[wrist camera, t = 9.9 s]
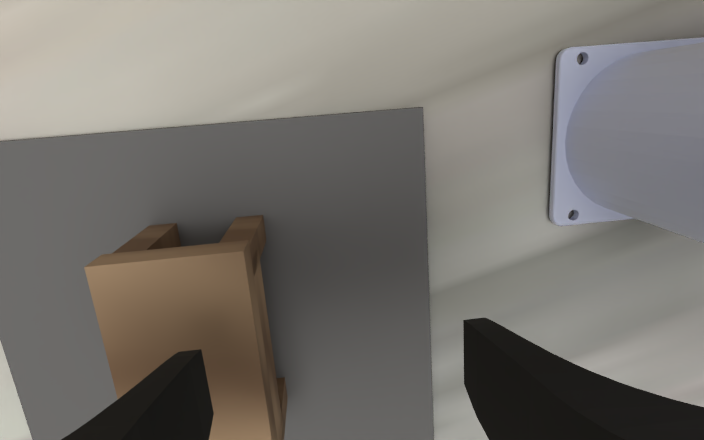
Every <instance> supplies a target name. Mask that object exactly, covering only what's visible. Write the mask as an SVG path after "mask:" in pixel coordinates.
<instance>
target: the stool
mask: <svg viewBox="0 0 704 440" xmlns="http://www.w3.org/2000/svg"><path fill="white" fill-rule="evenodd" d="M265 243H266V233H265V225H264V218H263V215H256V216H245V217H236V218H235V220H234V221H233V223H232V224H231V226H230V227H229V229H228V230H227V232H226V233H225V235H224V236H223V238H222V239H221V241H220V242H219V243H214V244H204V245H194V246H183V247H181V243H180V238H179V232H178V227H177V223H171V224H160V225H150V226H148V227H146V228H145V229H144V230H142V231H141V232H140V233H138V234H137V235H136V236H134V237H133V238H132V239H130V240H129V241H128V242H126V243H125V244H124V245H122V246H121V247H120V248H118V249H117V250H116V251H114V252H113V253H112V254H102V255H100V256H99V257H98V258H96V259H95V260H93V261H92V262H91V263H89V264H88V265H86V266H85V267H84V269H85V272H86V276H87V280H88V284H89V288H90V292H91V296H92V300H93V304H94V308H95V312H96V316H97V320H98V324H99V328H100V332H101V336H102V339H103V343H104V347H105V351H106V355H107V359H108V363H109V367H110V371H111V375H112V379H113V383H114V387H115V391H116V395H117V399H119V398H120V397H122V396H123V395H124V394H126V393H127V392H128V391H129V390H130V389H132V388H133V387H134V386H135V385H137V384H138V383H139V382H140V381H142V380H143V379H144V378H145V377H147V376H148V375H149V374H150V373H151V372H153V371H154V370H155V369H156V368H158V367H159V366H160V365H161V364H163V363H164V362H165V361H166V360H168V359H169V358H170V357H172V356H173V355H174V354H176V353H177V352H181V351H190V350H199V349H201V350H202V355H203V360H204V365H205V371H206V376H207V381H208V386H209V391H210V396H211V402H212V407H213V412H214V415H213V421H212V426H211V431H210V436H209V440H284V435H285V423H286V411H287V400H288V397H287V389H286V382H285V377H284V378H276V371H275V364H274V357H273V350H272V343H271V336H270V329H269V321H268V314H267V307H266V300H265V293H264V286H263V279H262V271H261V264H260V258H261V255H262V252H263V249H264V246H265Z"/></svg>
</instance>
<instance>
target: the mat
mask: <svg viewBox="0 0 704 440" xmlns="http://www.w3.org/2000/svg"><path fill="white" fill-rule="evenodd" d="M256 215H263V218H264V225H265V233H266V243H265V246H264V249H263V252H262V255H261V258H260V264H261V271H262V279H263V286H264V293H265V300H266V307H267V314H268V321H269V329H270V336H271V343H272V350H273V357H274V364H275V371H276V378H284V377H285V382H286V389H287V397H288V400H287V411H286V423H285V435H284V440H434V426H433V396H432V365H431V335H430V305H429V274H428V244H427V213H426V183H425V152H424V122H423V107H417V108H405V109H393V110H380V111H368V112H356V113H343V114H331V115H319V116H307V117H294V118H282V119H270V120H257V121H245V122H233V123H221V124H208V125H196V126H184V127H171V128H159V129H147V130H135V131H122V132H110V133H98V134H85V135H73V136H61V137H49V138H36V139H24V140H12V141H0V340H1V343H2V346H3V349H4V352H5V356H6V359H7V362H8V365H9V368H10V371H11V374H12V377H13V380H14V383H15V386H16V390H17V393H18V396H19V399H20V402H21V405H22V408H23V411H24V414H25V417H26V420H27V424H28V427H29V430H30V433H31V436H32V439H33V440H61V439H63V438H64V437H66V436H68V435H69V434H71V433H72V432H74V431H75V430H77V429H78V428H80V427H81V426H82V425H84V424H85V423H87V422H88V421H90V420H91V419H92V418H94V417H95V416H96V415H98V414H99V413H100V412H102V411H103V410H104V409H106V408H107V407H108V406H110V405H111V404H112V403H114V402H115V401H116V400H118V399H117V395H116V391H115V387H114V383H113V379H112V375H111V371H110V367H109V363H108V359H107V355H106V351H105V347H104V343H103V339H102V336H101V332H100V328H99V324H98V320H97V316H96V312H95V308H94V304H93V300H92V296H91V292H90V288H89V284H88V280H87V276H86V272H85V269H84V267H85V266H86V265H88V264H89V263H91V262H92V261H93V260H95V259H96V258H98V257H99V256H100V255H102V254H112V253H113V252H114V251H116V250H117V249H118V248H120V247H121V246H122V245H124V244H125V243H126V242H128V241H129V240H130V239H132V238H133V237H134V236H136V235H137V234H138V233H140V232H141V231H142V230H144V229H145V228H146V227H148V226H150V225H160V224H171V223H177V227H178V232H179V238H180V243H181V247H183V246H194V245H204V244H214V243H219V242H220V241H221V239H222V238H223V236H224V235H225V233H226V232H227V230H228V229H229V227H230V226H231V224H232V223H233V221H234V220H235V218H236V217H245V216H256Z"/></svg>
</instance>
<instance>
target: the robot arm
mask: <svg viewBox="0 0 704 440" xmlns="http://www.w3.org/2000/svg"><path fill="white" fill-rule="evenodd" d="M580 53H581V55H582V56H583V61H582V63H581V64H578V62H577V56H578V55H579V54H580ZM571 210H574V215H573V216H572V217H571V218H568V214H569V212H570V211H571ZM549 217H550V220H551V222H552V223H554V224H556V225H558V226H568V225H578V224H587V223H597V222H607V221H617V220H627V219H638V220H640V221H643V222H646V223H649V224H652V225H654V226H657V227H660V228H663V229H665V230H668V231H671V232H674V233H677V234H679V235H682V236H685V237H688V238H691V239H693V240H696V241H699V242H702V243H704V37H701V38H687V39H674V40H660V41H647V42H633V43H620V44H606V45H593V46H580V47H570V48H566V49H563V50H562V51H560V52H559V54H558V55H557V59H556V72H555V95H554V118H553V140H552V163H551V186H550V209H549ZM464 384H465V387H466V390H467V392H468V395H469V398H470V401H471V403H472V406H473V408H474V411H475V413H476V416H477V418H478V420H479V422H480V424H481V425H482V427H483V429H484V431H485V433H486V435H487V437H488V438H489V440H704V407H700V406H696V405H691V404H688V403H684V402H680V401H676V400H673V399H669V398H666V397H662V396H659V395H656V394H653V393H649V392H646V391H643V390H640V389H637V388H634V387H631V386H628V385H625V384H622V383H619V382H617V381H614V380H612V379H609V378H606V377H604V376H601V375H599V374H596V373H594V372H591V371H589V370H586V369H584V368H582V367H580V366H577V365H575V364H573V363H571V362H569V361H567V360H565V359H563V358H560V357H558V356H556V355H554V354H552V353H550V352H548V351H546V350H545V349H543V348H541V347H539V346H537V345H535V344H533V343H531V342H530V341H528V340H526V339H524V338H522V337H520V336H519V335H517V334H515V333H513V332H512V331H510V330H508V329H506V328H504V327H503V326H501V325H499V324H497V323H495V322H493V321H491V320H489V319H487V318H478V319H469V320H464ZM213 415H214V412H213V407H212V402H211V396H210V391H209V386H208V381H207V376H206V371H205V365H204V360H203V355H202V350H201V349H199V350H190V351H181V352H177V353H176V354H174V355H173V356H172V357H170V358H169V359H168V360H166V361H165V362H164V363H163V364H161V365H160V366H159V367H158V368H156V369H155V370H154V371H153V372H151V373H150V374H149V375H148V376H147V377H145V378H144V379H143V380H142V381H140V382H139V383H138V384H137V385H135V386H134V387H133V388H132V389H130V390H129V391H128V392H127V393H126V394H124V395H123V396H122V397H120V398H119V399H118V400H116V401H115V402H114V403H112V404H111V405H110V406H108V407H107V408H106V409H104V410H103V411H102V412H100V413H99V414H98V415H96V416H95V417H94V418H92V419H91V420H90V421H88V422H87V423H85V424H84V425H82V426H81V427H80V428H78V429H77V430H75V431H74V432H72V433H71V434H69V435H68V436H66V437H64V438H63V439H61V440H209V436H210V431H211V426H212V421H213Z"/></svg>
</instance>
